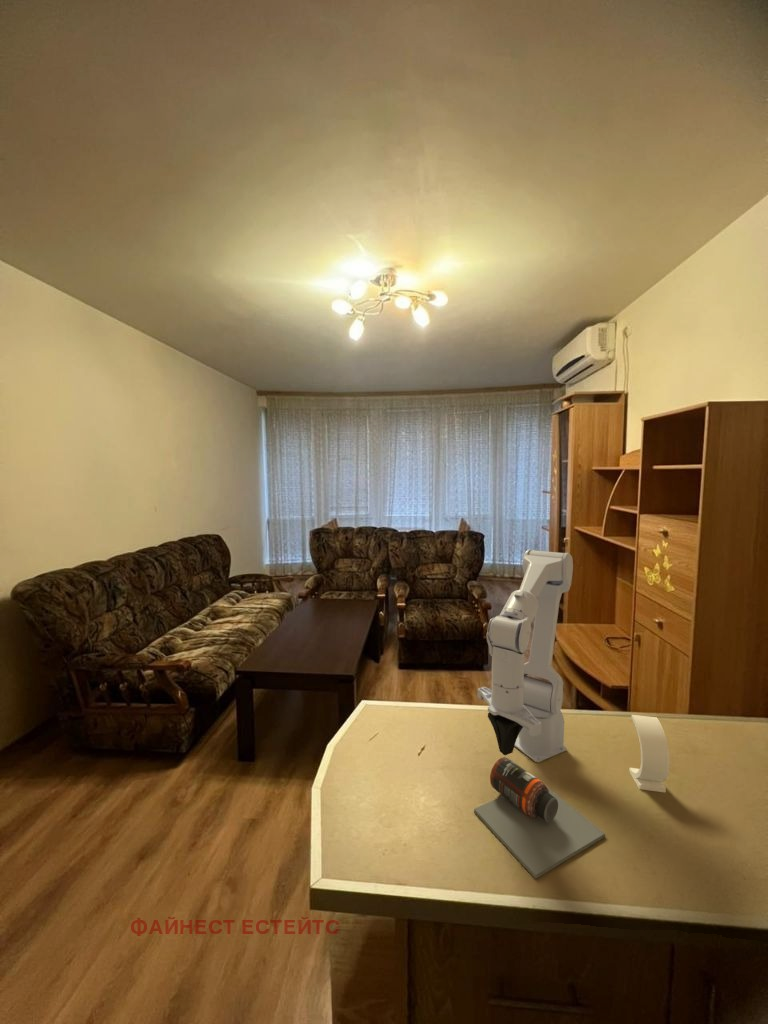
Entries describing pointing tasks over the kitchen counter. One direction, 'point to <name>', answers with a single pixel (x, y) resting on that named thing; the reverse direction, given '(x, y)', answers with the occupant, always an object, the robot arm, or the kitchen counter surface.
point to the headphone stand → (651, 754)
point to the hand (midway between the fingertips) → (506, 751)
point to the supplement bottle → (523, 790)
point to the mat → (539, 833)
